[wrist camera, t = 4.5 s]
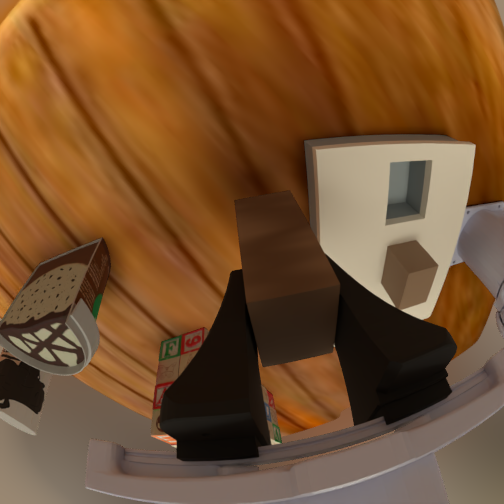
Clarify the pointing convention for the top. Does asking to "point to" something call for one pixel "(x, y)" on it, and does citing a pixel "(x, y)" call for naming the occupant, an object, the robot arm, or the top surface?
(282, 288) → the walnut key
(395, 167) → the shallow tray
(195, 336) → the stack of blocks
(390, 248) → the lid
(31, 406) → the cup
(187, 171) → the top surface
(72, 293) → the food container
